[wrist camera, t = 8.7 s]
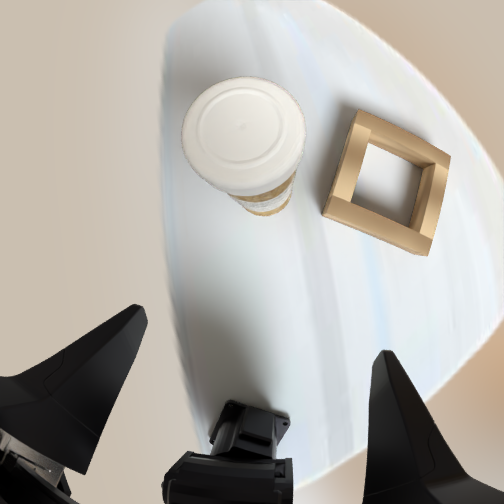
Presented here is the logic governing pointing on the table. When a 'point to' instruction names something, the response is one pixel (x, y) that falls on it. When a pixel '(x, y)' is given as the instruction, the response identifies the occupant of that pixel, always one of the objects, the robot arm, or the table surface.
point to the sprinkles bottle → (246, 141)
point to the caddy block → (429, 192)
